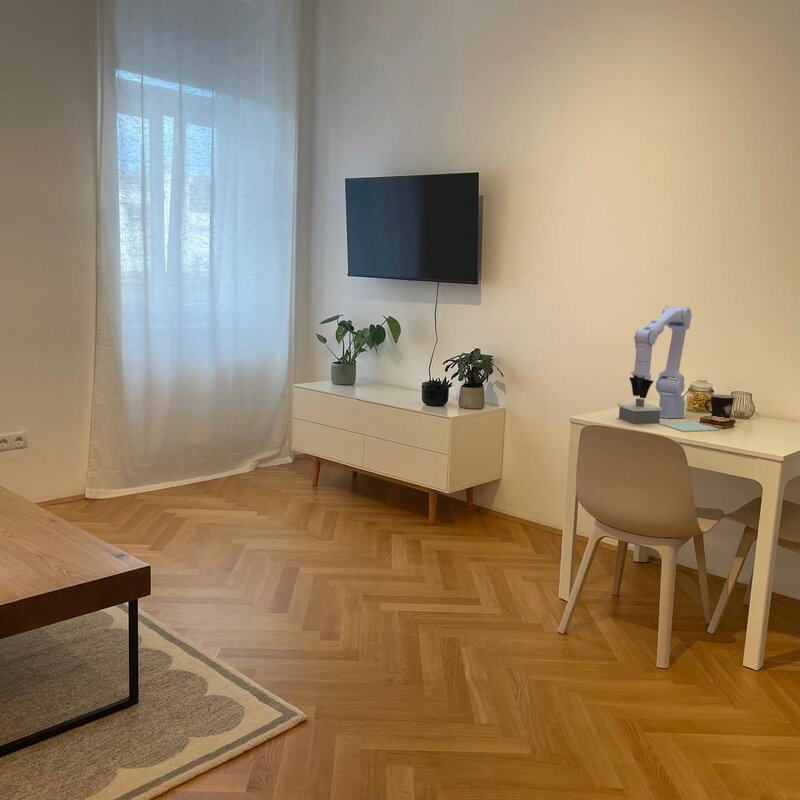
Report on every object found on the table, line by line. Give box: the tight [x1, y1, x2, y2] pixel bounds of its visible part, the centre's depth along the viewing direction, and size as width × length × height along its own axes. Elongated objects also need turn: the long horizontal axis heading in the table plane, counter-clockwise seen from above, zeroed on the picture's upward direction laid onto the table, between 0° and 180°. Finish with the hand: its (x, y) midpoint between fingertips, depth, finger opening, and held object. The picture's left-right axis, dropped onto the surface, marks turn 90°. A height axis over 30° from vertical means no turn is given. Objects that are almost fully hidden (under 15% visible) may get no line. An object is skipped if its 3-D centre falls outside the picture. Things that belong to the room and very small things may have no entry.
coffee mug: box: [704, 394, 735, 419], centre depth 328 cm, size 12×9×10 cm
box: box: [618, 407, 661, 425], centre depth 325 cm, size 11×11×5 cm
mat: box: [657, 421, 721, 433], centre depth 315 cm, size 16×16×1 cm
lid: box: [617, 398, 662, 411], centre depth 325 cm, size 12×12×4 cm
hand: (639, 397), depth 317 cm, fingers open, 7 cm apart
